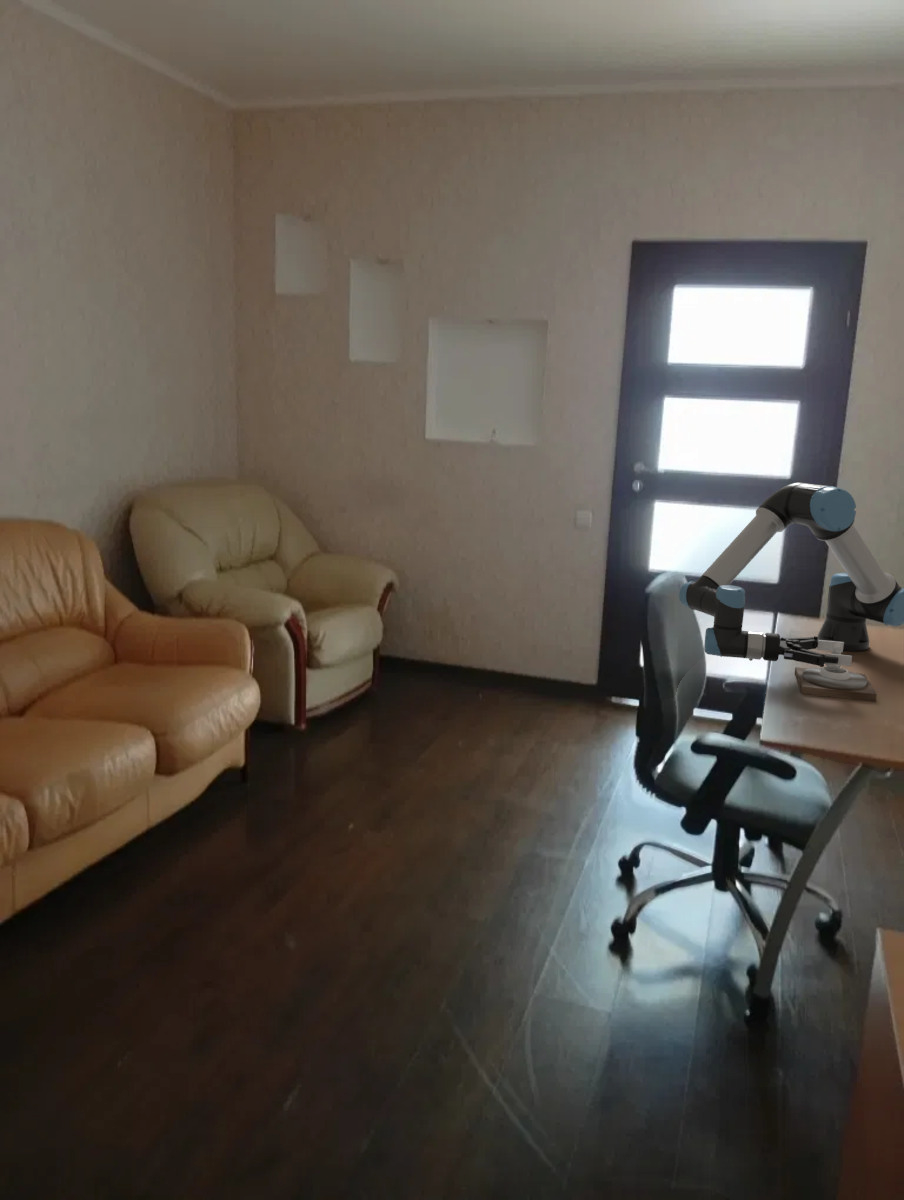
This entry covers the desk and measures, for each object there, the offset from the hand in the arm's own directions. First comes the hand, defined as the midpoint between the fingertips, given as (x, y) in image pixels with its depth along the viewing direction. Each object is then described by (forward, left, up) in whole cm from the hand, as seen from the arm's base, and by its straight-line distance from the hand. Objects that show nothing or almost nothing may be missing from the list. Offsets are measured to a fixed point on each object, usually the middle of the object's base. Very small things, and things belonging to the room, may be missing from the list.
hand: (847, 653), depth 240 cm
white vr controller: (-1, -2, -7) cm, 7 cm away
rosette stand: (0, -2, -10) cm, 10 cm away
